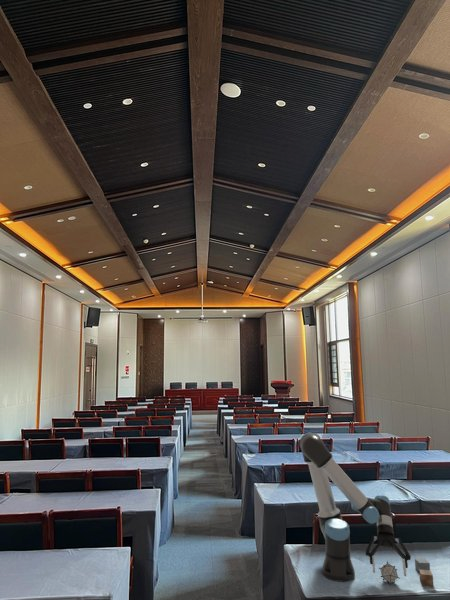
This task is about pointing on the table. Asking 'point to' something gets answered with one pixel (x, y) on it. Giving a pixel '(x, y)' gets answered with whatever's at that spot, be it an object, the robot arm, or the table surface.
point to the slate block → (421, 564)
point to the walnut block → (426, 578)
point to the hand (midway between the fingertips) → (389, 573)
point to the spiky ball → (389, 573)
